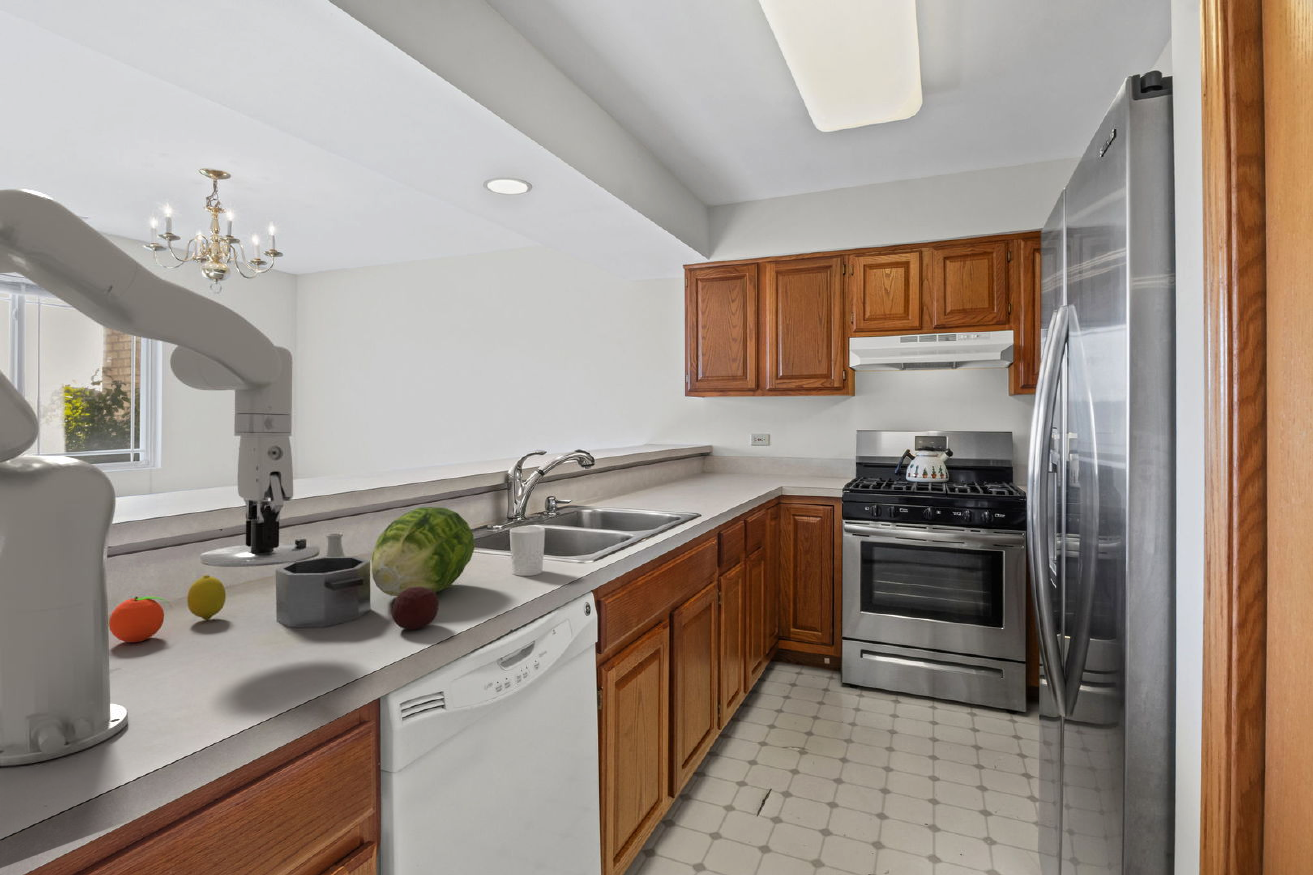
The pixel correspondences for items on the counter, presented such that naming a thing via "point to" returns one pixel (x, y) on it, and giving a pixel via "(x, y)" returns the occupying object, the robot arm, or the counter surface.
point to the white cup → (527, 550)
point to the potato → (415, 608)
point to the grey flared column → (334, 545)
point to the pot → (322, 591)
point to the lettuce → (422, 551)
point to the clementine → (136, 619)
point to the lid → (259, 553)
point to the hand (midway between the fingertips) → (262, 545)
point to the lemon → (206, 597)
